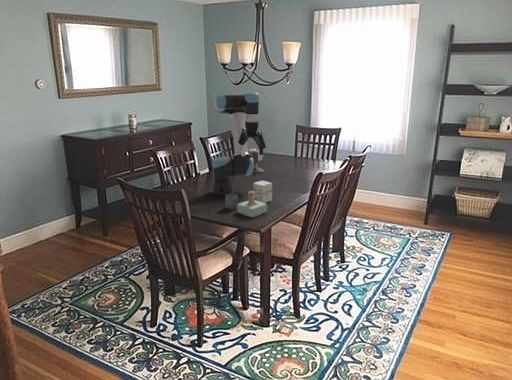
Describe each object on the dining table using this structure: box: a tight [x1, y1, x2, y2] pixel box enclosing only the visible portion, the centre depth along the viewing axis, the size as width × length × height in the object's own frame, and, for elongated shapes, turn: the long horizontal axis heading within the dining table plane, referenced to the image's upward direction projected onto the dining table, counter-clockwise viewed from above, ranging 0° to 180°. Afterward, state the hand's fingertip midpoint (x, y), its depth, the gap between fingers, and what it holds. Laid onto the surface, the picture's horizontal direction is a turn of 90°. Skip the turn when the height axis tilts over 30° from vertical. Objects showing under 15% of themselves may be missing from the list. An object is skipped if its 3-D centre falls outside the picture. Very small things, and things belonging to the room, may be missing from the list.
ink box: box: [252, 180, 273, 204], centre depth 249 cm, size 9×8×12 cm
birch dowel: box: [247, 190, 255, 206], centre depth 230 cm, size 4×4×12 cm
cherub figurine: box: [248, 148, 265, 174], centre depth 322 cm, size 18×18×18 cm
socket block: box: [236, 200, 268, 218], centre depth 231 cm, size 12×12×5 cm
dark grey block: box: [224, 193, 239, 211], centre depth 238 cm, size 6×6×8 cm
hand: (251, 158), depth 233 cm, fingers open, 13 cm apart
